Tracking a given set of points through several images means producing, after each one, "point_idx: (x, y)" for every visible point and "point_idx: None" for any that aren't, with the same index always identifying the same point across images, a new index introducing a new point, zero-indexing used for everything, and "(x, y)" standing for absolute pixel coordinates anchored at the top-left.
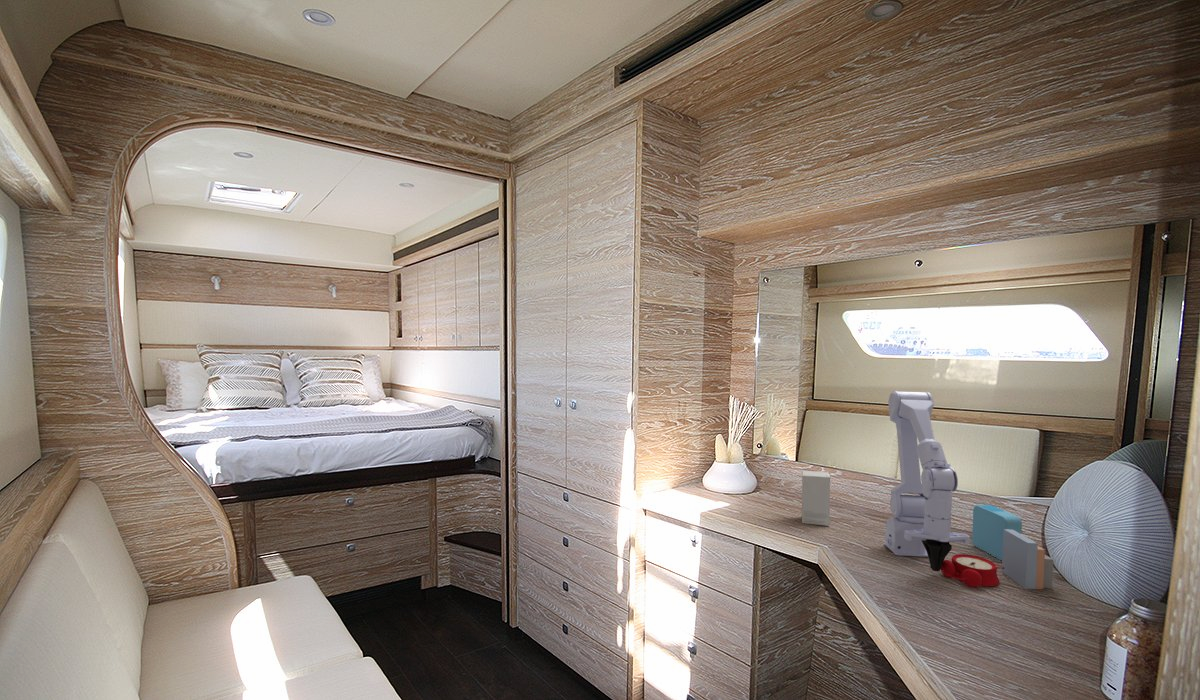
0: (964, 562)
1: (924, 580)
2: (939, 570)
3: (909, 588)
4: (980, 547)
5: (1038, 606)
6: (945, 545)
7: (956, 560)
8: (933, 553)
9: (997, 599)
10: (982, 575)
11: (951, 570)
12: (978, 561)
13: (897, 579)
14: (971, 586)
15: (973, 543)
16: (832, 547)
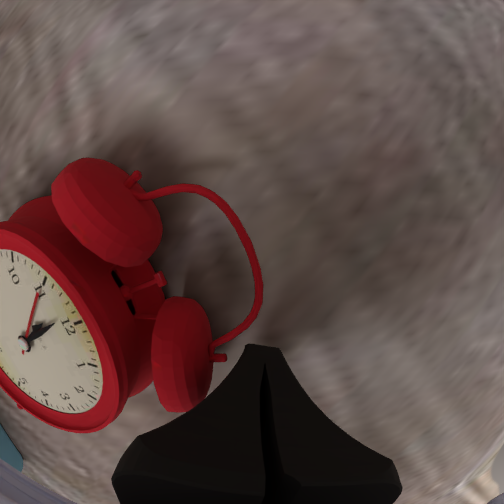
0: (65, 362)
1: (373, 286)
2: (250, 345)
3: (498, 196)
4: (10, 446)
5: (12, 44)
6: (205, 498)
7: (99, 394)
8: (333, 429)
9: (105, 58)
10: (37, 222)
11: (186, 314)
12: (6, 354)
13: (485, 293)
14: (139, 184)
15: (21, 463)
16: (451, 485)
